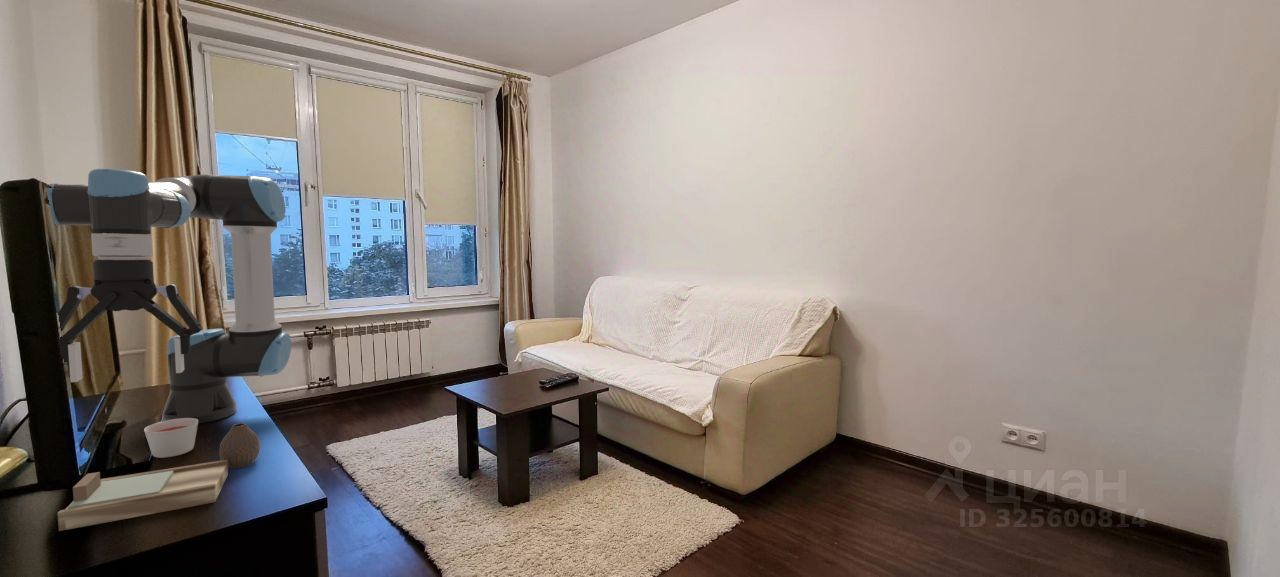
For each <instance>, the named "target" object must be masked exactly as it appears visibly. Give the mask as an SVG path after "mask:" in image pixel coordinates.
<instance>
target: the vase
mask: <svg viewBox="0 0 1280 577" xmlns="http://www.w3.org/2000/svg"><path fill="white" fill-rule="evenodd" d="M260 450H261V441H260V438H259V436H258V435H257V433H256V432H254V430H252V429H251V428H249V426H248V425H247V423H244V422H239V423H235V424H232V425H231V427H230V429H229V430H228V432H227V433H226V435H225V436H224V437H223V438H222V440H221V442H220V445H219V449H218V452H219V458H220V461H222V460H227V462H228V469H229V468H230V469H241V468H245V467H248V466H250V465H252V464H253V463H254V462H255V461H256V460H257V458H258V457H259V454H260V452H261V451H260Z"/></svg>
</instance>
